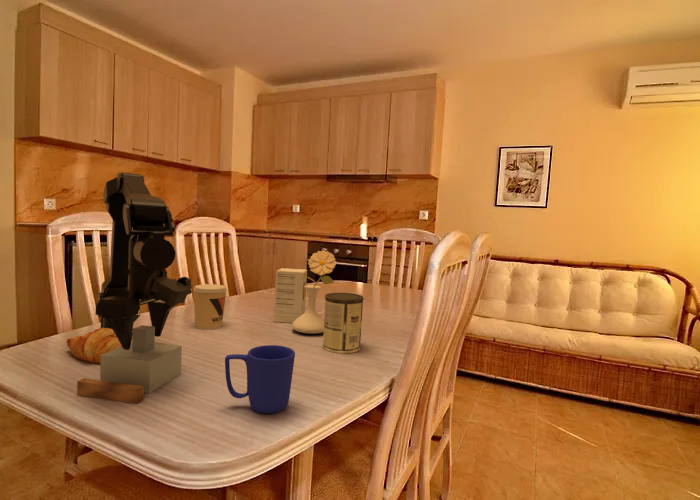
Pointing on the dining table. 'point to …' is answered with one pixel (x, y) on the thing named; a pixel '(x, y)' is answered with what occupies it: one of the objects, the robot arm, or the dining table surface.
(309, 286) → the flower in vase
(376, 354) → the dining table surface
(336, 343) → the coffee can
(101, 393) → the walnut strip
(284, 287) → the supplement box
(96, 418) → the dining table surface
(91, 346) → the croissant
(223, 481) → the dining table surface
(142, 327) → the cover
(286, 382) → the mug
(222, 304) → the coffee cup
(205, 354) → the dining table surface
